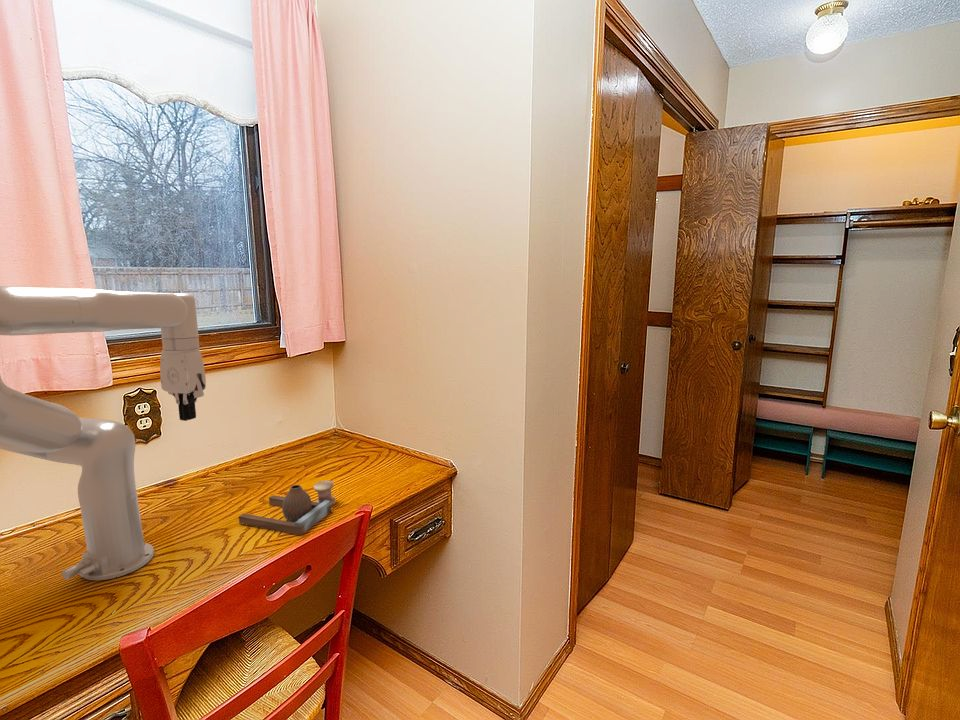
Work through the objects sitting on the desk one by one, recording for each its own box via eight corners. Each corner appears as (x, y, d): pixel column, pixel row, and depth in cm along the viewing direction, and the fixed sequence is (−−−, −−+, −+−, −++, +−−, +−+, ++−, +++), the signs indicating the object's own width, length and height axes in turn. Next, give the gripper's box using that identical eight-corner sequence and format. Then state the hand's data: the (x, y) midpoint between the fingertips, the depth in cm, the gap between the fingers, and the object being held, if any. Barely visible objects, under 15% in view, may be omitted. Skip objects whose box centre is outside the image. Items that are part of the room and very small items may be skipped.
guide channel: (300, 535, 115) (300, 523, 115) (239, 523, 121) (238, 512, 120) (331, 511, 127) (330, 500, 126) (273, 502, 132) (272, 491, 131)
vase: (277, 523, 121) (274, 490, 119) (297, 510, 127) (294, 479, 126) (299, 528, 118) (296, 494, 117) (318, 515, 125) (316, 483, 123)
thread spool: (331, 508, 128) (328, 489, 127) (312, 507, 129) (310, 488, 128) (338, 498, 133) (336, 480, 132) (320, 498, 134) (318, 480, 133)
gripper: (144, 345, 117) (152, 420, 119) (189, 348, 111) (196, 426, 114) (173, 341, 123) (180, 412, 126) (217, 344, 118) (223, 418, 121)
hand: (188, 419), depth 120 cm, fingers closed
